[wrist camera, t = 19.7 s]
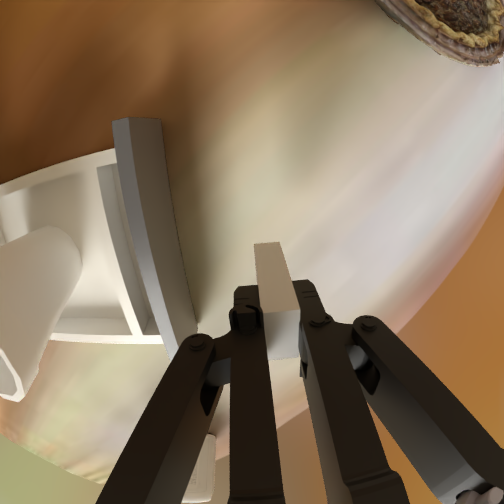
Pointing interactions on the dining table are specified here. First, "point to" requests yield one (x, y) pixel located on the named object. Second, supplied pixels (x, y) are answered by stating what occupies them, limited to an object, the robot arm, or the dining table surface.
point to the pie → (454, 27)
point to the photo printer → (202, 474)
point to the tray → (112, 239)
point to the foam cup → (32, 301)
